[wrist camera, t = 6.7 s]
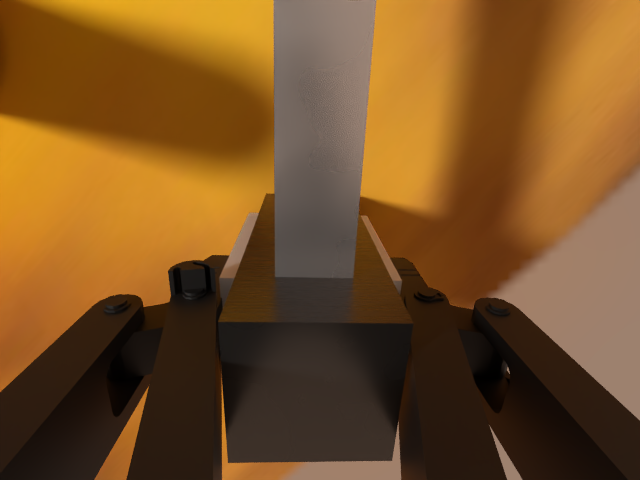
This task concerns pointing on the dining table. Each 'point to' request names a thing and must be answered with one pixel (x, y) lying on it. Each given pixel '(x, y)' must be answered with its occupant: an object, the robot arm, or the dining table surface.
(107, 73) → the dining table surface
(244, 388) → the shaft
